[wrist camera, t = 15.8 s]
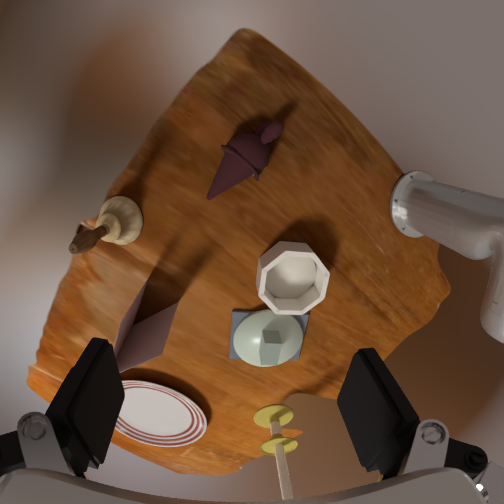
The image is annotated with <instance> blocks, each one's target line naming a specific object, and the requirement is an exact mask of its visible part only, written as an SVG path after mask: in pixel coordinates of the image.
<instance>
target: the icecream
mask: <svg viewBox="0 0 504 504" xmlns="http://www.w3.org/2000/svg"><path fill="white" fill-rule="evenodd" d="M283 129H284V124H283V123H281V122H273V123H270V122H266V123H264V124H262V125H261V126H260V127H259V128H258V129H257V131H256V132H255V134H254V135H253V134H250V133H247V134H240V135H238V136H235V137H234V138H232V139H231V140H230V141H229V142H228V143H227V145H221V148H222V150H223V151H224V152H225V154H224V157H223V159H222V161H221V164H220V166H219V168H218V171H217V173H216V175H215V178H214V180H213V183H212V185H211V187H210V190H209V192H208V194H207V197H206V198H207V199H208V200H210V199H212V198H214V197H215V196H217V195H219V194H220V193H222V192H224V191H225V190H227V189H229V188H230V187H232V186H234V185H236V184H237V183H239V182H241V181H243V180H244V179H246V178H248V177H250V176H251V175H252V176H253V177H254V178H255V179H256V181H258V180H259V174H260V173H262V171H263V169H264V168H265V167H266V166H267V165H268V159H269V154H270V153H271V150H270V145H269V144H268V142H272V141H273V139H274V138H277V137H278V136H279V134H280V133H281V132H282V131H283Z"/></svg>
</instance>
